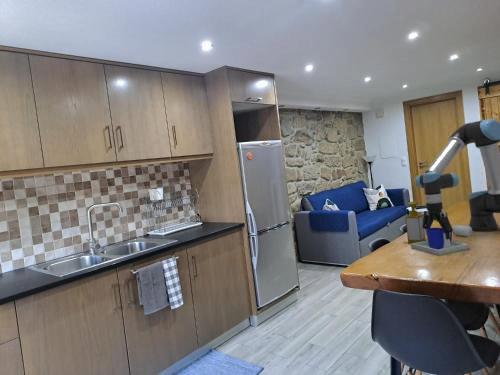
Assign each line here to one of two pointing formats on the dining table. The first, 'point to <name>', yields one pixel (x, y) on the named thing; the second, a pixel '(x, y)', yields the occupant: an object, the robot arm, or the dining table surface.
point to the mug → (436, 237)
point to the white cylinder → (462, 230)
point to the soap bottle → (414, 225)
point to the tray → (445, 250)
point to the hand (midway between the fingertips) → (438, 243)
